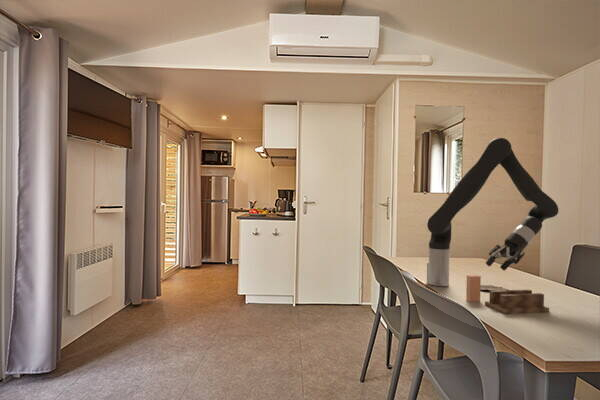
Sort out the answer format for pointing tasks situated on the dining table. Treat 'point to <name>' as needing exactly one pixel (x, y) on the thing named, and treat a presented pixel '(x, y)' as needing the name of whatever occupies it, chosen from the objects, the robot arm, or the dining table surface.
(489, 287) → the stone fragment
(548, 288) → the dining table surface
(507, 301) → the walnut rack
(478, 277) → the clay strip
